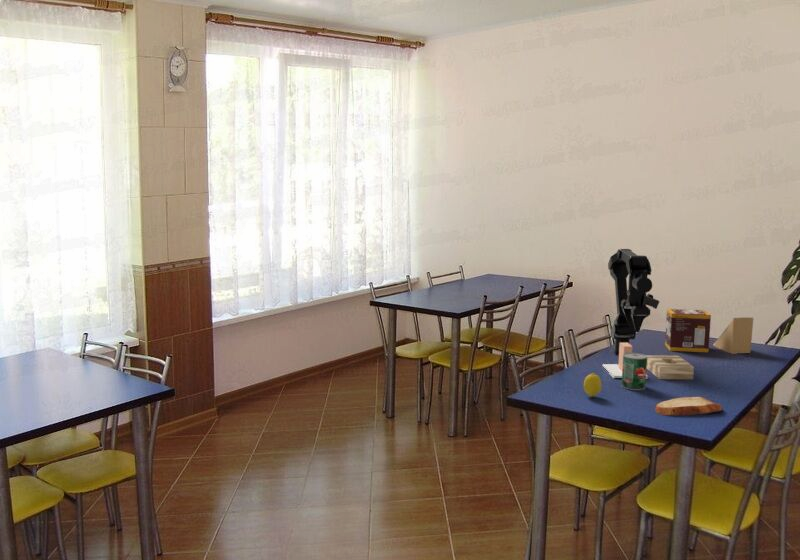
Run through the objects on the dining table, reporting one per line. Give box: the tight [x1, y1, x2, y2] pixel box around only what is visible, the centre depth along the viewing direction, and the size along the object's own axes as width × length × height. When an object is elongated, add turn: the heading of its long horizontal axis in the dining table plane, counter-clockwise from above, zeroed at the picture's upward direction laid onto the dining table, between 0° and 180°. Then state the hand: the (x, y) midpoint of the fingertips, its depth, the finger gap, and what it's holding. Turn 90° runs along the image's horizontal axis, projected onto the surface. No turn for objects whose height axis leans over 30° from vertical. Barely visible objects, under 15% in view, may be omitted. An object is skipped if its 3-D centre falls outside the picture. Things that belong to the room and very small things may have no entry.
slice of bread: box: [654, 396, 723, 416], centre depth 241 cm, size 18×18×4 cm
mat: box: [601, 363, 649, 380], centre depth 284 cm, size 16×12×1 cm
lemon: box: [583, 372, 602, 398], centre depth 254 cm, size 6×6×8 cm
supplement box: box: [664, 308, 712, 353], centre depth 320 cm, size 10×15×16 cm
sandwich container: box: [712, 316, 754, 355], centre depth 320 cm, size 9×15×15 cm, turn 6°
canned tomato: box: [621, 352, 648, 391], centre depth 265 cm, size 8×8×11 cm
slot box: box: [645, 354, 695, 380], centre depth 283 cm, size 16×12×4 cm
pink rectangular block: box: [618, 343, 633, 371], centre depth 283 cm, size 6×3×10 cm, turn 0°
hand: (634, 329), depth 296 cm, fingers open, 9 cm apart
